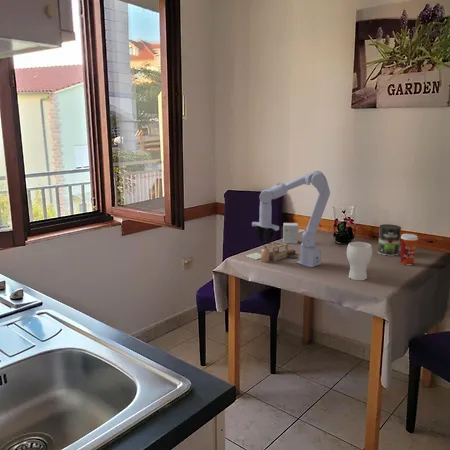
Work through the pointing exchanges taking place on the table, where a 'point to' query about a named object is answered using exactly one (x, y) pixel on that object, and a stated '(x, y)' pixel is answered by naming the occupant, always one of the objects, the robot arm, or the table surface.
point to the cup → (358, 259)
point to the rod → (290, 252)
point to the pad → (254, 256)
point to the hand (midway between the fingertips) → (264, 242)
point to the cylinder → (265, 255)
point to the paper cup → (408, 248)
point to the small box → (290, 233)
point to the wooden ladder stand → (279, 256)
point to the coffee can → (389, 239)
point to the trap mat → (292, 256)
